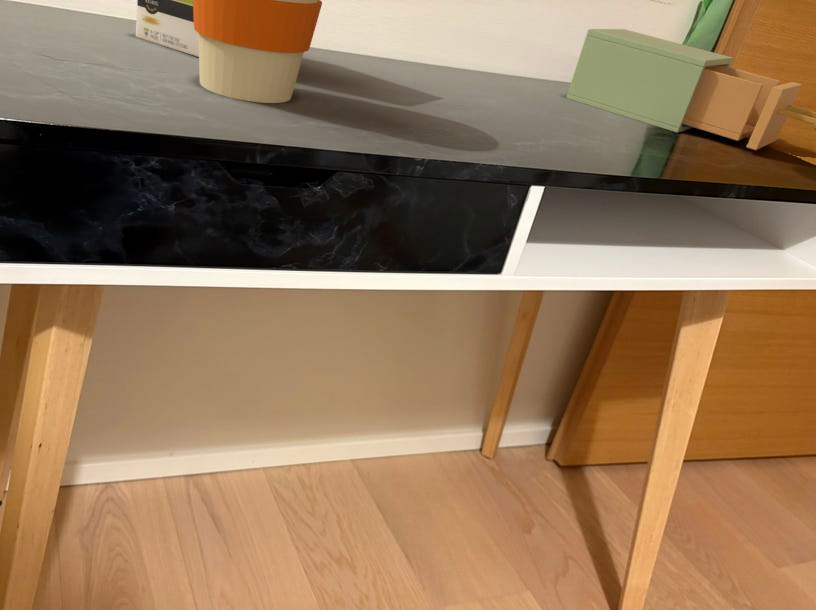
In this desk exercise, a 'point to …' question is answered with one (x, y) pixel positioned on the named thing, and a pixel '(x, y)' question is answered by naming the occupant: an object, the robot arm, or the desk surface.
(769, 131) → the drawer
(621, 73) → the cabinet
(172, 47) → the tea box
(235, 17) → the reusable coffee cup
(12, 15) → the desk surface
